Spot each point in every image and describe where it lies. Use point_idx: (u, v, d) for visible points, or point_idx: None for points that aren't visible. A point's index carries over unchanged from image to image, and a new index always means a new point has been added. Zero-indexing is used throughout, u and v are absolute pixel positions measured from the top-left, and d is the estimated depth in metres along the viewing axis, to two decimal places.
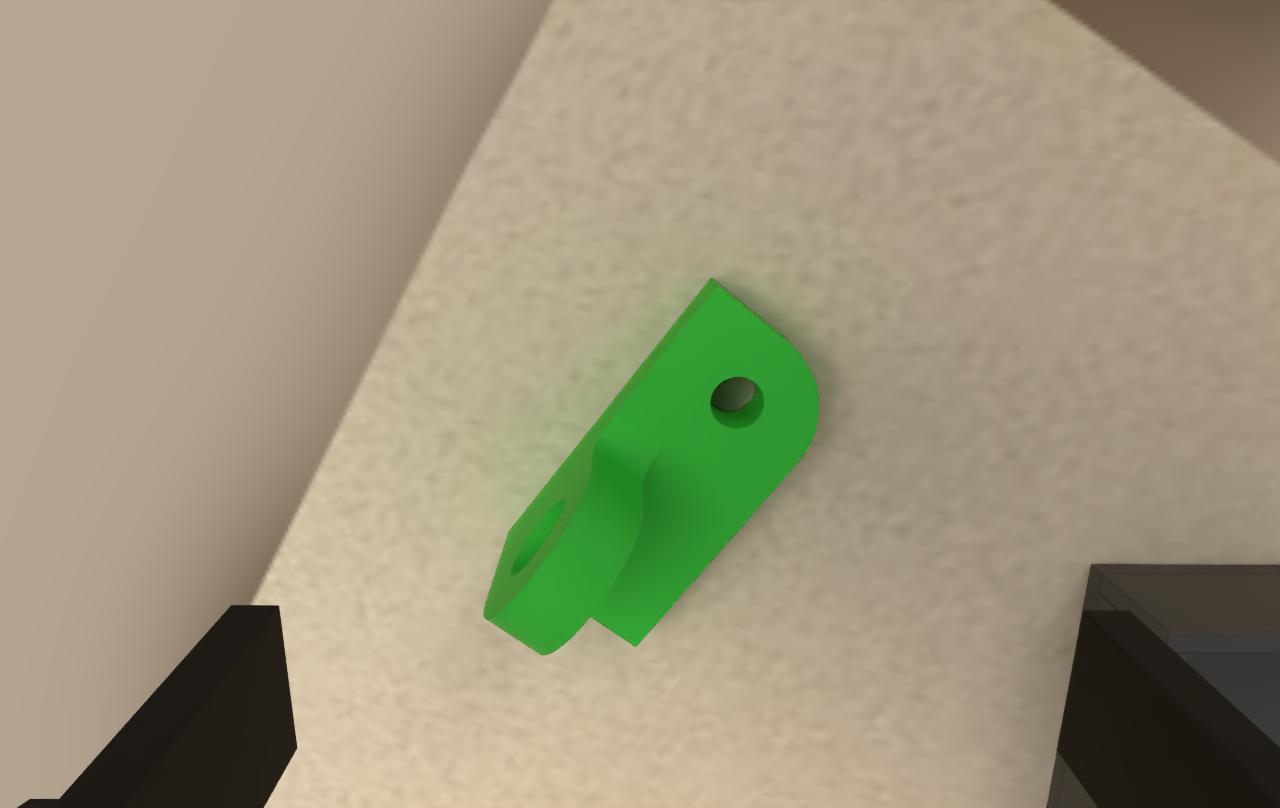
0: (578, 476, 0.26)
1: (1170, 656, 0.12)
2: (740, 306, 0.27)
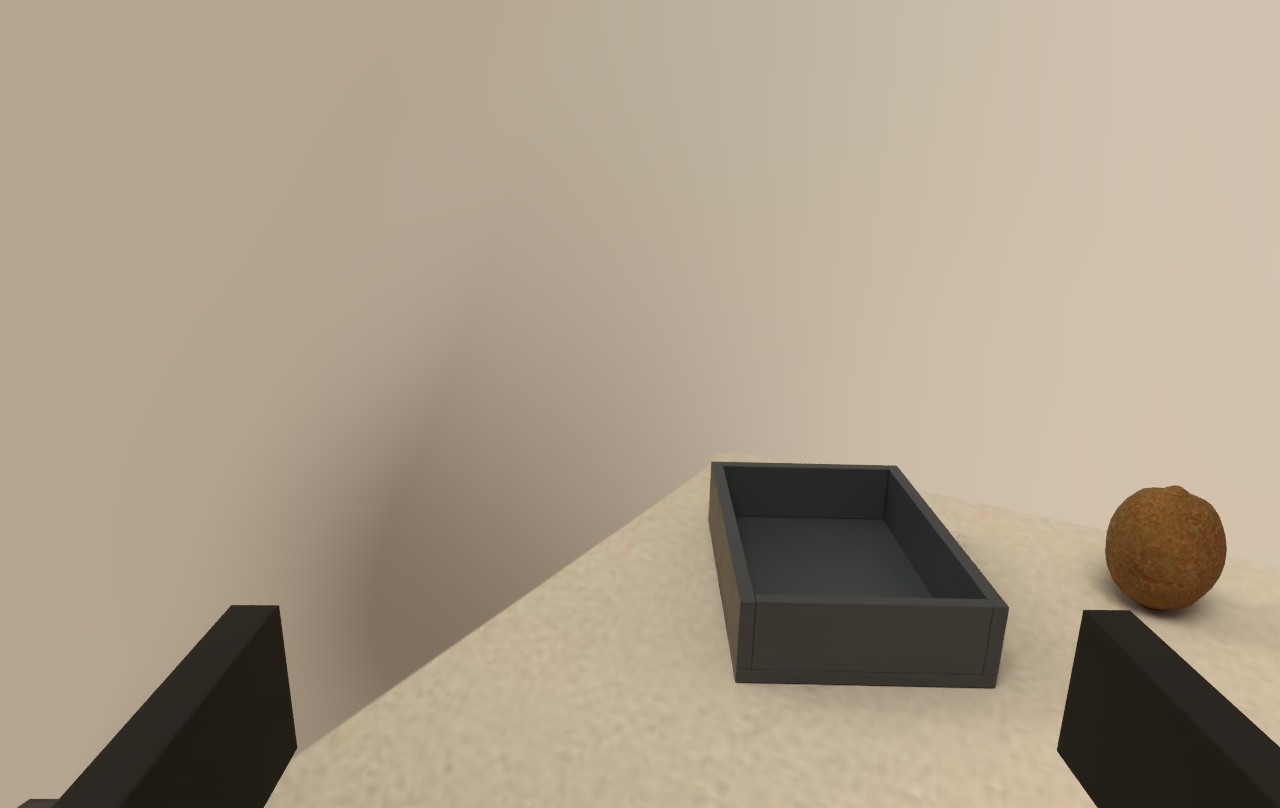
0: None
1: (1170, 656, 0.12)
2: None
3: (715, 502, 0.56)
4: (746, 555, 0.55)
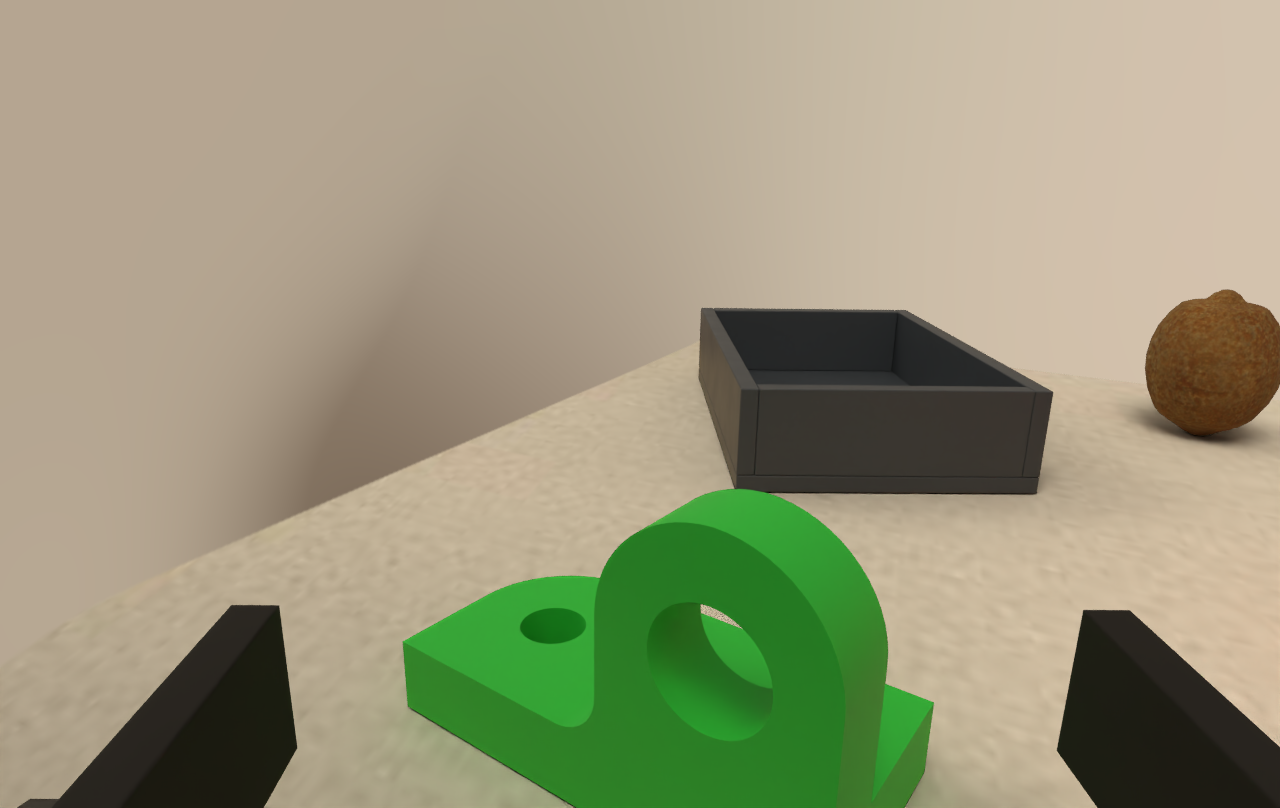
0: (621, 678, 0.17)
1: (1170, 656, 0.12)
2: (434, 627, 0.22)
3: (706, 341, 0.50)
4: None
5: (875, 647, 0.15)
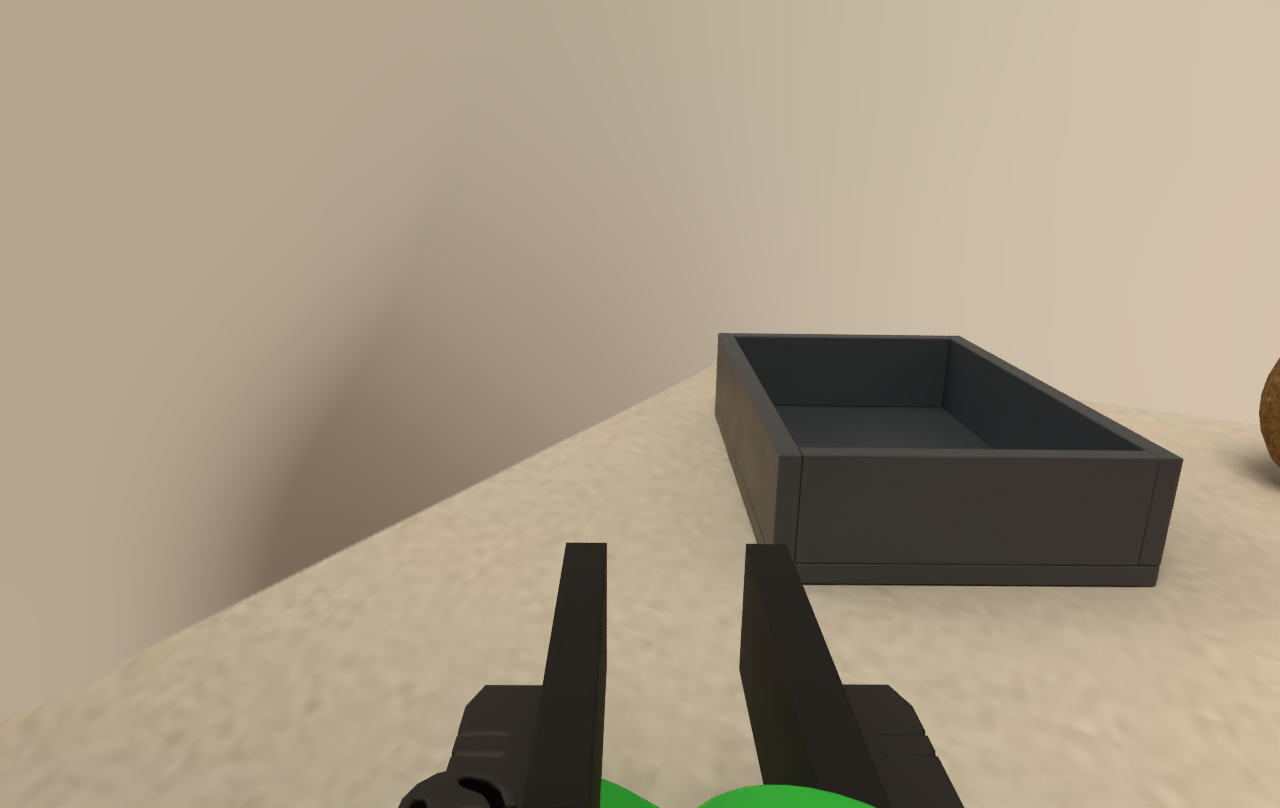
0: None
1: (790, 577, 0.14)
2: None
3: (726, 375, 0.42)
4: None
5: None
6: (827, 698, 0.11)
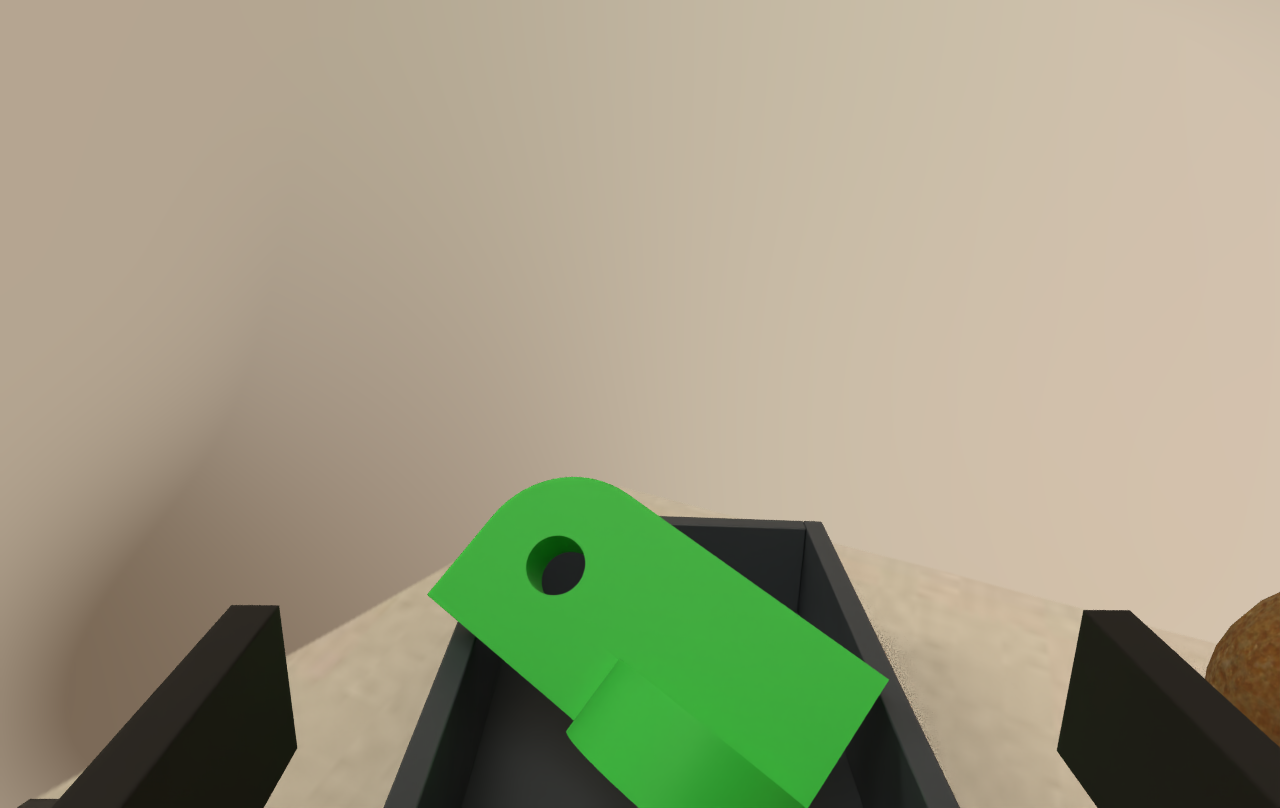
0: None
1: (1170, 656, 0.12)
2: (451, 568, 0.25)
3: None
4: (527, 694, 0.29)
5: None
6: None
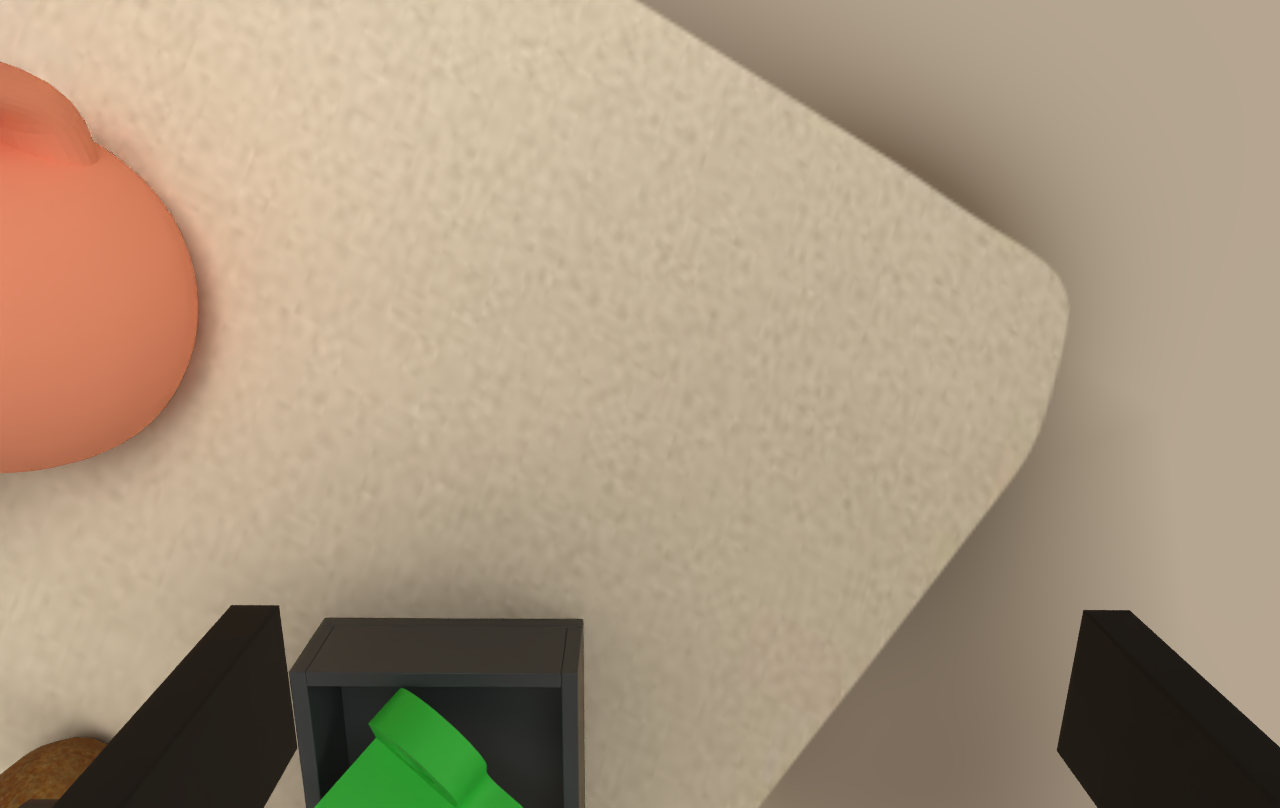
0: None
1: (1170, 656, 0.12)
2: None
3: None
4: None
5: (377, 713, 0.38)
6: None
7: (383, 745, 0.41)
